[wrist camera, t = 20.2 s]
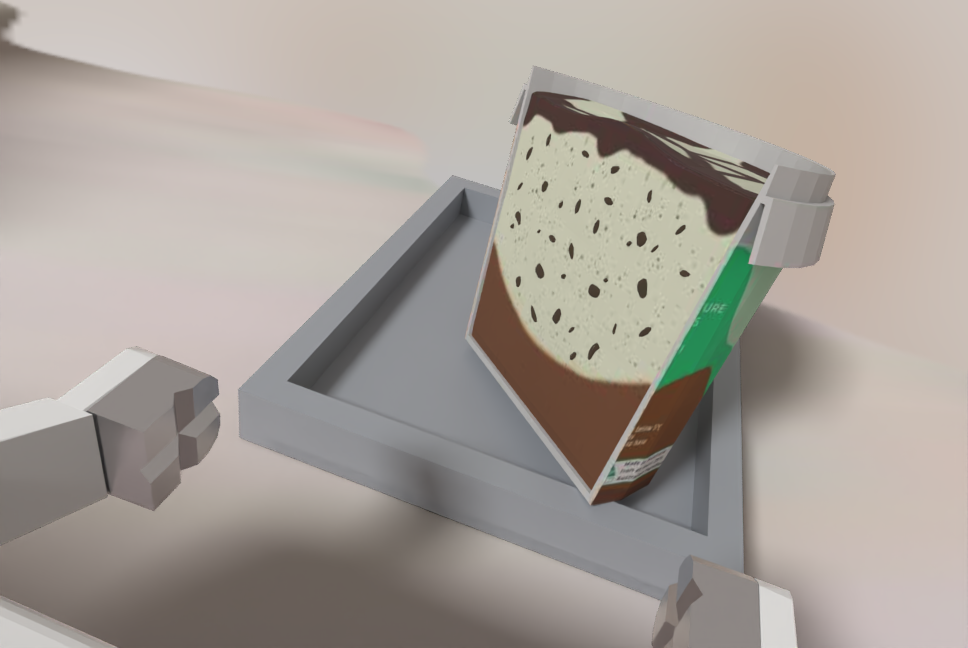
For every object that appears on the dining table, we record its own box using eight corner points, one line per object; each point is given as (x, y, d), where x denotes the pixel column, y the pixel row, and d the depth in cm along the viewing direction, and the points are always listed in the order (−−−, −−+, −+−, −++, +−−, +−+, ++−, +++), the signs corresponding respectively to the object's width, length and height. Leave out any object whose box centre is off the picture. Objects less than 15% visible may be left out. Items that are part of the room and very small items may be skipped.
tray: (239, 437, 21) (238, 389, 20) (446, 209, 37) (452, 175, 36) (715, 621, 19) (743, 578, 18) (722, 297, 35) (738, 263, 33)
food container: (779, 526, 21) (964, 214, 17) (620, 545, 18) (798, 172, 14) (575, 328, 30) (661, 101, 26) (450, 319, 27) (526, 62, 23)
